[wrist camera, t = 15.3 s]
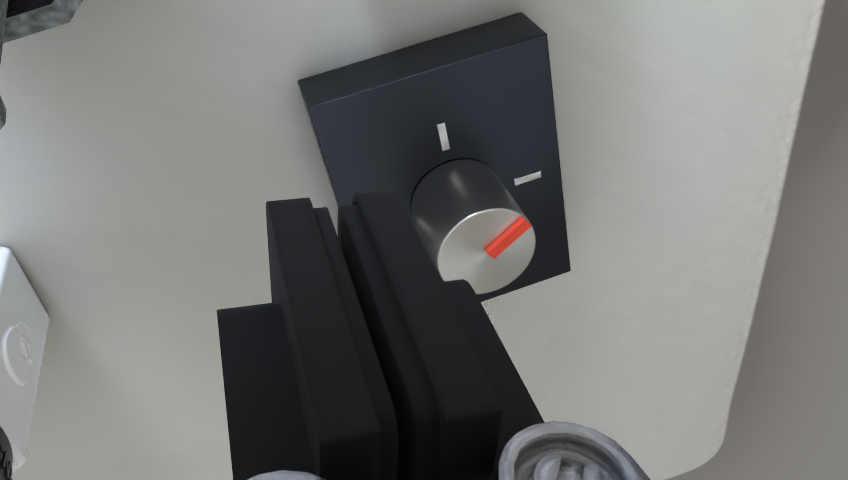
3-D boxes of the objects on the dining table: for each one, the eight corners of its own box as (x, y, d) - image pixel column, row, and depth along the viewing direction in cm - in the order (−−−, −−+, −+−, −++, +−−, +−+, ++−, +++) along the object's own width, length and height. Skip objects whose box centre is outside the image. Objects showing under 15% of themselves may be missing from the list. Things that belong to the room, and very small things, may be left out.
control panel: (297, 80, 35) (307, 109, 33) (521, 11, 36) (548, 34, 34) (368, 302, 44) (381, 338, 41) (549, 240, 45) (572, 273, 42)
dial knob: (451, 255, 39) (482, 314, 36) (391, 207, 37) (418, 266, 33) (518, 194, 38) (558, 248, 35) (461, 140, 36) (497, 193, 32)
